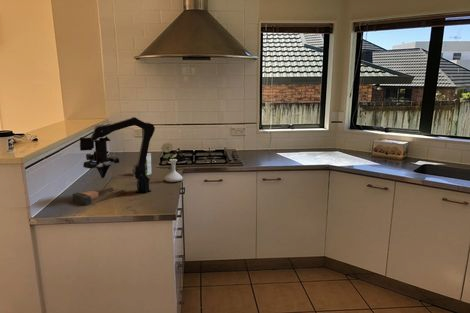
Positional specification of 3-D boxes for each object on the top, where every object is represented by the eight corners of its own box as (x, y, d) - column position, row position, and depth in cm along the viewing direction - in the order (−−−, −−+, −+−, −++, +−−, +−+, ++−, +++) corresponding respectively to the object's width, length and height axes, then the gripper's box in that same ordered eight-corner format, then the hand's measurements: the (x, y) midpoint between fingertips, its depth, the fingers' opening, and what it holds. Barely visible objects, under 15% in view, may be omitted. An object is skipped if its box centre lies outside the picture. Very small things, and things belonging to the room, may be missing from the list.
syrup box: (139, 175, 238) (138, 153, 235) (144, 173, 243) (144, 152, 240) (146, 175, 236) (146, 154, 233) (151, 173, 241) (151, 153, 239)
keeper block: (98, 200, 186) (98, 192, 185) (88, 203, 181) (88, 195, 180) (91, 198, 189) (91, 190, 188) (81, 201, 184) (81, 193, 184)
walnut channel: (124, 193, 197) (124, 186, 196) (86, 205, 178) (85, 197, 177) (111, 190, 203) (111, 183, 202) (73, 201, 183) (72, 194, 183)
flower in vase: (182, 178, 231) (182, 140, 226) (183, 183, 220) (182, 143, 215) (162, 178, 229) (161, 140, 224) (161, 183, 218) (160, 143, 213)
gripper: (106, 145, 200) (107, 172, 203) (76, 150, 184) (78, 179, 187) (119, 147, 194) (120, 175, 197) (89, 152, 178) (91, 182, 181)
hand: (102, 177), depth 191 cm, fingers closed
